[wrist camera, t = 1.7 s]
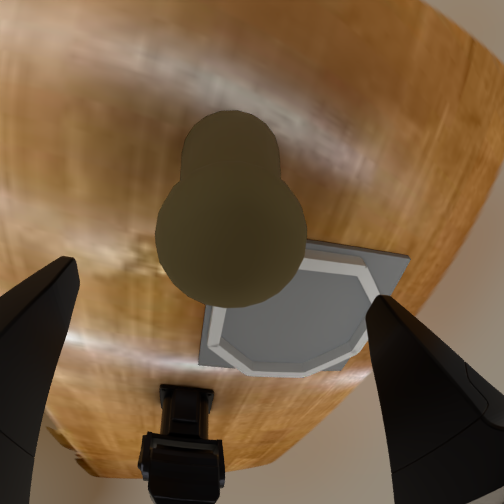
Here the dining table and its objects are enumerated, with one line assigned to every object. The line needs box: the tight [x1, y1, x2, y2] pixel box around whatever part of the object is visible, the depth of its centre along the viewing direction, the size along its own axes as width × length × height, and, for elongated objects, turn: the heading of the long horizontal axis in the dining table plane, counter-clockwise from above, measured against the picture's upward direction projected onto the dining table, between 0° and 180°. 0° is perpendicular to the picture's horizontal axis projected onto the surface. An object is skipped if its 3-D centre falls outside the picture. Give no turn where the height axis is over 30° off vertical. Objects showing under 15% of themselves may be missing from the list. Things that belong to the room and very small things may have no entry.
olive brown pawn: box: [155, 110, 307, 308], centre depth 14 cm, size 6×6×11 cm
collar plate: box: [198, 240, 411, 378], centre depth 26 cm, size 16×16×2 cm
